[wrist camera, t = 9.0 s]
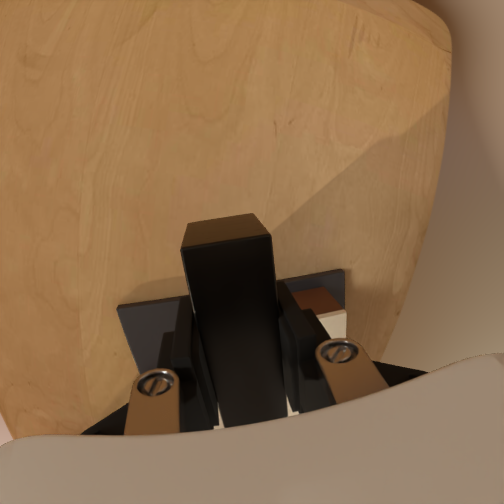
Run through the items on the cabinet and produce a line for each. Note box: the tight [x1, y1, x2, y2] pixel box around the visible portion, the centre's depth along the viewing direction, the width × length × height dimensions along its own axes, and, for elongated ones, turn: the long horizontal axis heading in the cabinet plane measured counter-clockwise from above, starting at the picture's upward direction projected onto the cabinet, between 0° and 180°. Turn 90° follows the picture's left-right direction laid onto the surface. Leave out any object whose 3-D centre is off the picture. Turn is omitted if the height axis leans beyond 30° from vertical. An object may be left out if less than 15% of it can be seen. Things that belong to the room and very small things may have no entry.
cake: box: [116, 269, 347, 417], centre depth 26 cm, size 15×20×6 cm
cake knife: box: [180, 213, 288, 428], centre depth 12 cm, size 18×2×4 cm, turn 7°
